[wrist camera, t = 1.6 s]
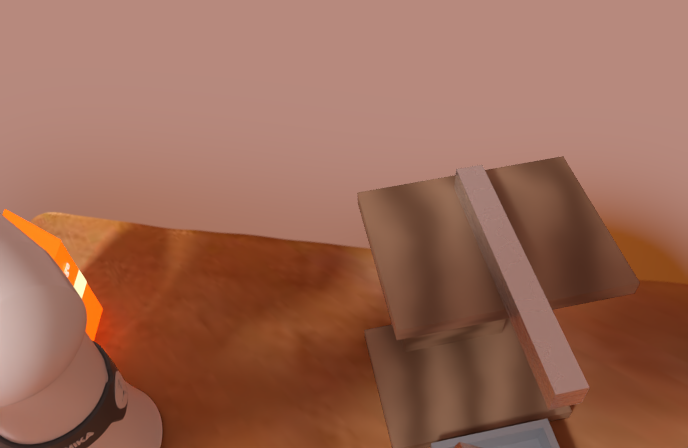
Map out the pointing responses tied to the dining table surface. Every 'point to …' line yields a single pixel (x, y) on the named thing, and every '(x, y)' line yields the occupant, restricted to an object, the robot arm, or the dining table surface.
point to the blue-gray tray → (509, 437)
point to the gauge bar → (520, 292)
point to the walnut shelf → (475, 298)
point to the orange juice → (63, 268)
